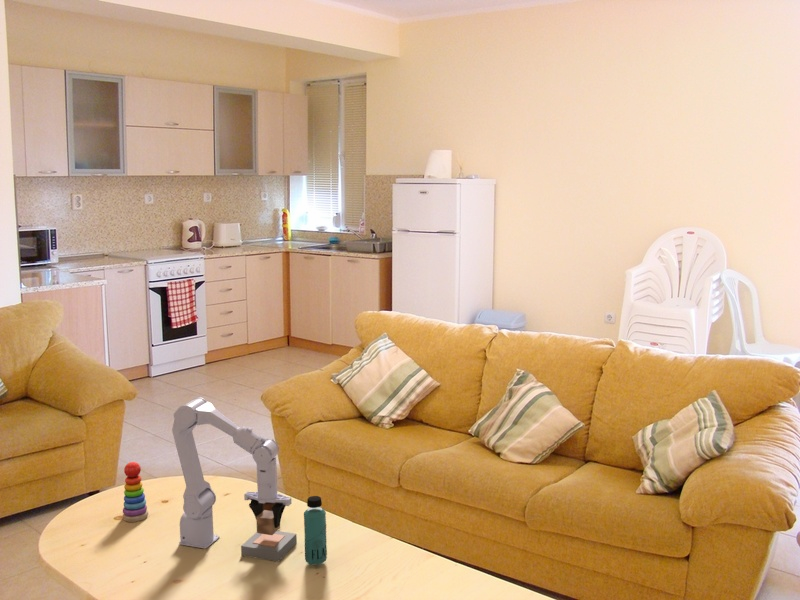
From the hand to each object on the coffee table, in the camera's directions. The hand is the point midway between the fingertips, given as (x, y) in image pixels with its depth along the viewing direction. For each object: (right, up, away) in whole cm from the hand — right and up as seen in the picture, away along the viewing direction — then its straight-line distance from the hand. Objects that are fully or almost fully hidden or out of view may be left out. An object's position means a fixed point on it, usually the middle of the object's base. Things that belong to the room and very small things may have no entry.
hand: (268, 525), depth 226 cm
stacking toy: (-47, -5, +23) cm, 53 cm away
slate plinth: (0, -8, +1) cm, 8 cm away
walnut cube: (0, -2, 0) cm, 2 cm away
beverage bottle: (+15, -9, -8) cm, 19 cm away
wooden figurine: (-3, -5, +19) cm, 20 cm away
